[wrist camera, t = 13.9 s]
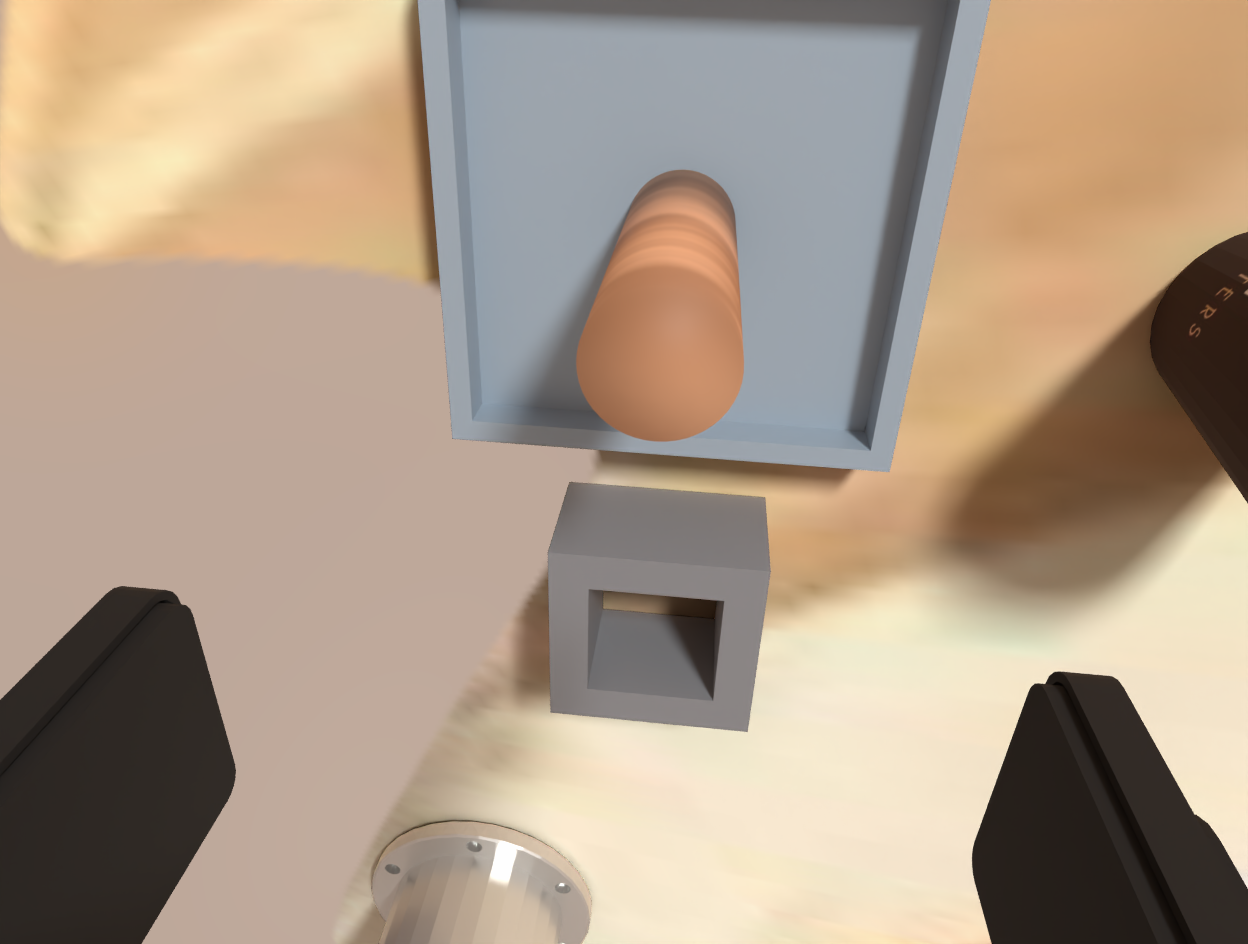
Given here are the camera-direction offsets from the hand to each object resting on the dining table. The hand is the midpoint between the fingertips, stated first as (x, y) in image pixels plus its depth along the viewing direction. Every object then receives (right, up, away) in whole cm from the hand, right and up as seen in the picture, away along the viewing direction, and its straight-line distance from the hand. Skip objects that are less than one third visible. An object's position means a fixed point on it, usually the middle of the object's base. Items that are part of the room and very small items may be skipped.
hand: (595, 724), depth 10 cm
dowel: (+2, +11, +19) cm, 22 cm away
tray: (+2, +12, +20) cm, 23 cm away
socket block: (+2, -1, +27) cm, 28 cm away
